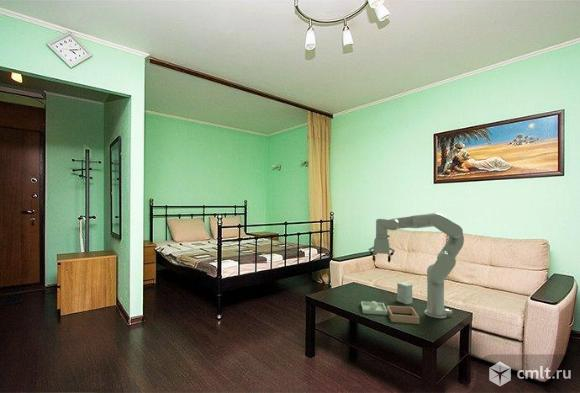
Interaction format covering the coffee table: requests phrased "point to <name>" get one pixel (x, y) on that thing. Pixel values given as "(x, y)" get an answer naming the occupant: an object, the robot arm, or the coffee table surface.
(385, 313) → the tray
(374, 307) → the ball
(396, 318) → the tan square frame
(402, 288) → the small box
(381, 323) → the coffee table surface
